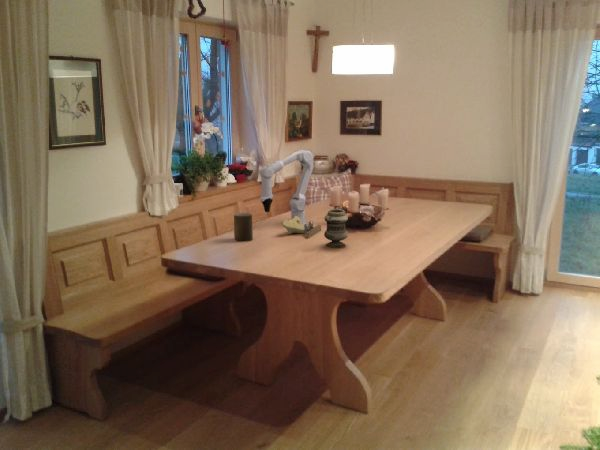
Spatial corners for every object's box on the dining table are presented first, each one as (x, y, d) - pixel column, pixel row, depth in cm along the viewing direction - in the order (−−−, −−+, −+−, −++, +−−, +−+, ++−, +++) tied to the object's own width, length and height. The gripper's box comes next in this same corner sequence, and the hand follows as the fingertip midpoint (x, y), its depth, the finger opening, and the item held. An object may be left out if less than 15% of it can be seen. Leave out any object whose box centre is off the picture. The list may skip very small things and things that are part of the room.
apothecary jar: (328, 249, 283) (328, 213, 279) (321, 243, 294) (321, 209, 290) (351, 247, 286) (351, 212, 282) (343, 241, 297) (343, 207, 293)
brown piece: (313, 229, 325) (313, 219, 323) (321, 230, 323) (321, 220, 322) (300, 237, 307) (300, 226, 305) (308, 238, 305) (308, 227, 304)
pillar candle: (249, 242, 298) (249, 213, 295) (231, 241, 300) (231, 213, 297) (254, 238, 307) (254, 210, 304) (237, 237, 309) (236, 209, 306)
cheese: (304, 233, 325) (283, 217, 324) (311, 225, 321) (290, 209, 319) (297, 247, 313) (275, 230, 311) (304, 239, 309) (282, 222, 307)
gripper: (265, 186, 331) (265, 209, 334) (254, 189, 318) (255, 213, 321) (276, 186, 329) (277, 209, 332) (266, 190, 315) (266, 214, 318)
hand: (267, 211), depth 326 cm, fingers closed
